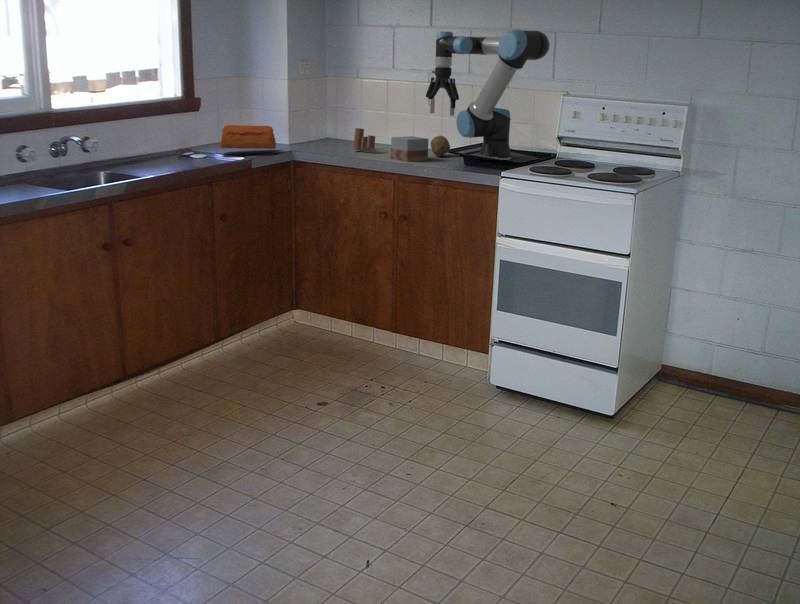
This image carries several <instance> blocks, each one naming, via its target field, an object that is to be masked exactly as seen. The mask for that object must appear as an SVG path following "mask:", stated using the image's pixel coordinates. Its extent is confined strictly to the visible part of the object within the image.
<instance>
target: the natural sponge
mask: <svg viewBox="0 0 800 604" xmlns="http://www.w3.org/2000/svg"><path fill="white" fill-rule="evenodd" d="M430 148H431V151H432V153H433V154H434V156H435V157H437V158H440V157H442V156H444V155H445V154H447V153H448V152H449V151H450V150H451V145H450V142H449V140H448V139H447V138H446V137H445V136H443V135H438V136H434V137H433V138H432V139H431V141H430Z"/></svg>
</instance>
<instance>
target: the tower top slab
mask: <svg viewBox="0 0 800 604" xmlns="http://www.w3.org/2000/svg"><path fill="white" fill-rule="evenodd" d="M390 141H391V142H390V150H391V149H397V150H403V151H419V150H428V151H429V138H425V137H419V136H412V135H411V136H410V135H409V136H393V137H392V136H391V138H390Z"/></svg>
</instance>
